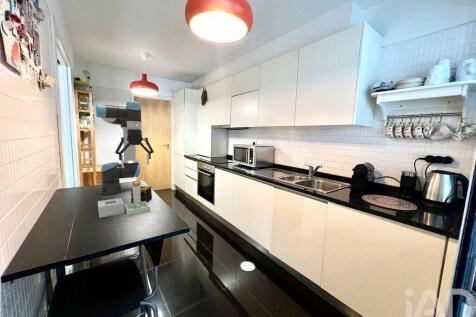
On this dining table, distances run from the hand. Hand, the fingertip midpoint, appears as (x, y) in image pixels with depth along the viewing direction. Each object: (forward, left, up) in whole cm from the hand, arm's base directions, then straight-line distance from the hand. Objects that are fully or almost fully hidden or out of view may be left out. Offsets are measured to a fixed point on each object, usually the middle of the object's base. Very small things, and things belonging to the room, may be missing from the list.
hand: (135, 165), depth 119 cm
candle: (-17, +6, -28) cm, 33 cm away
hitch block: (-6, -13, -28) cm, 31 cm away
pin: (0, 0, -27) cm, 27 cm away
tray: (0, 0, -28) cm, 28 cm away
